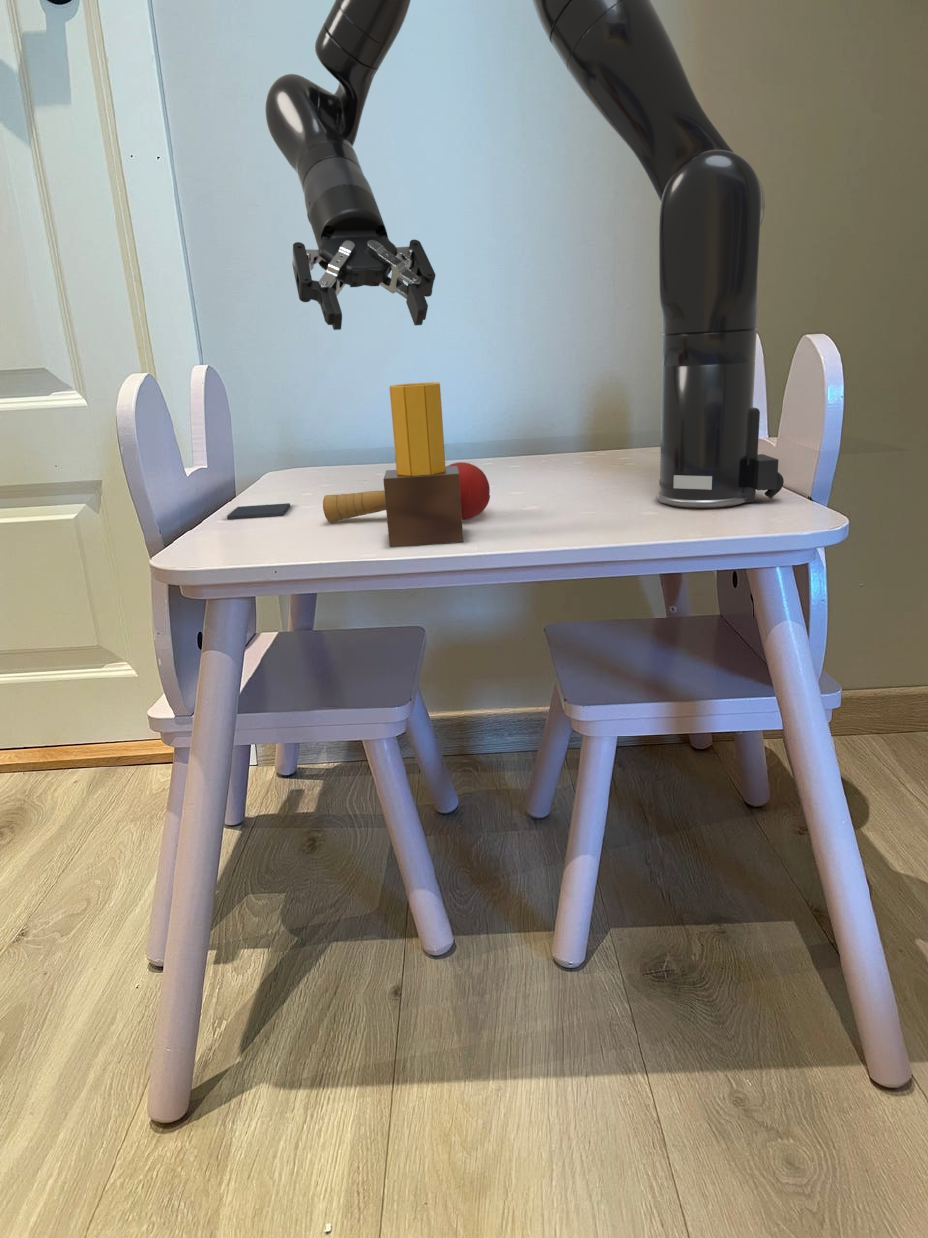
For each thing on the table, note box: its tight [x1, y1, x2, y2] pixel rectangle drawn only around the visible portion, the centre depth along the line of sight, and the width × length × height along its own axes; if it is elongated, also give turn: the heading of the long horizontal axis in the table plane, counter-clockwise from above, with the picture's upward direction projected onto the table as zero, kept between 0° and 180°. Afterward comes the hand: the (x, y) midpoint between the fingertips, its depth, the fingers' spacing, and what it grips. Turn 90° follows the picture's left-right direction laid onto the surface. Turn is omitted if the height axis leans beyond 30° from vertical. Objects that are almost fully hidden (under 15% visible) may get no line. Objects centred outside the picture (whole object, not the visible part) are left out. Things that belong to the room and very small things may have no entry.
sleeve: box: [389, 381, 447, 476], centre depth 77 cm, size 5×5×8 cm
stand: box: [383, 465, 464, 548], centre depth 79 cm, size 7×5×12 cm
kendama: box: [322, 461, 491, 523], centre depth 88 cm, size 8×6×18 cm
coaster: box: [226, 502, 291, 520], centre depth 98 cm, size 6×6×1 cm
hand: (380, 321), depth 84 cm, fingers open, 8 cm apart
